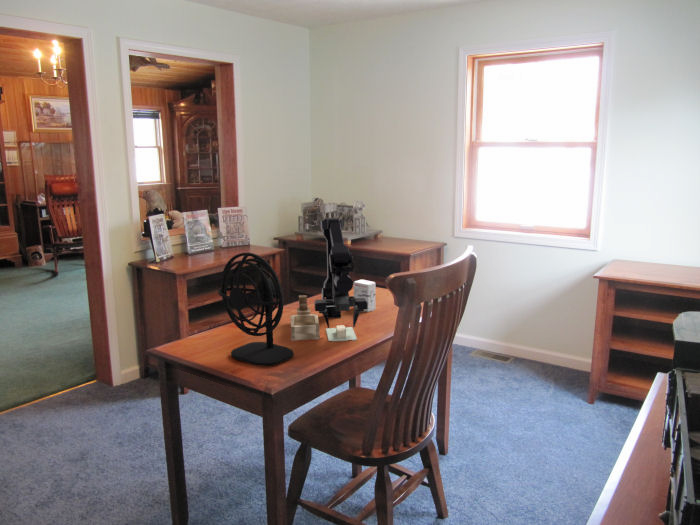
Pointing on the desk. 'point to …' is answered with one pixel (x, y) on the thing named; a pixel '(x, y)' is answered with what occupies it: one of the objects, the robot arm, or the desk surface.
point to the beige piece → (304, 325)
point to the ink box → (365, 292)
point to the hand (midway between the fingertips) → (341, 327)
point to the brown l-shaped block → (303, 302)
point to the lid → (341, 333)
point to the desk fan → (266, 292)
